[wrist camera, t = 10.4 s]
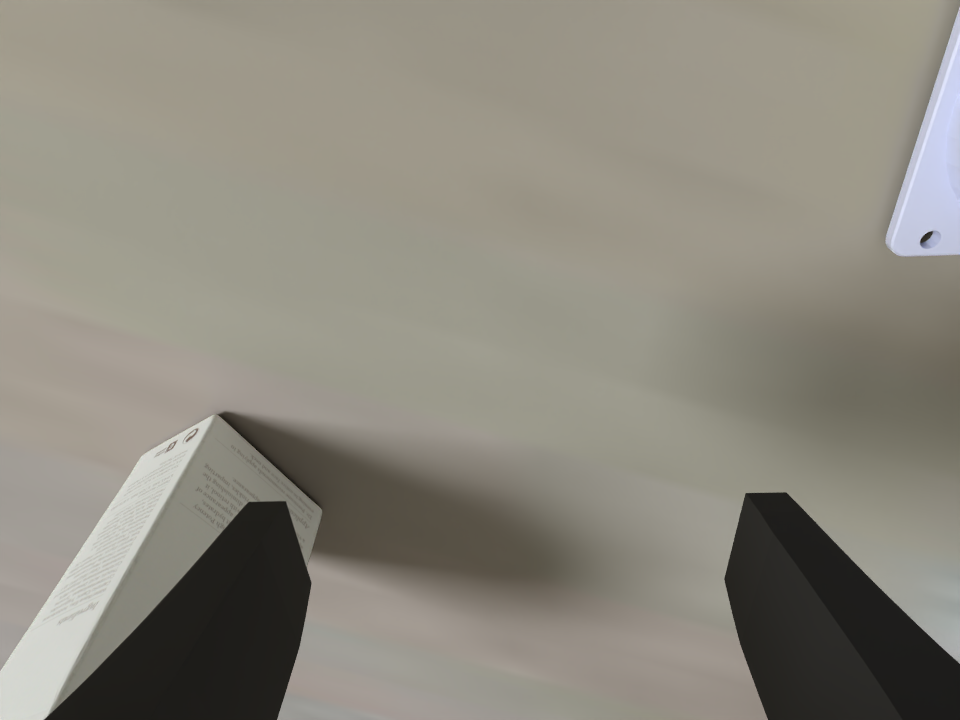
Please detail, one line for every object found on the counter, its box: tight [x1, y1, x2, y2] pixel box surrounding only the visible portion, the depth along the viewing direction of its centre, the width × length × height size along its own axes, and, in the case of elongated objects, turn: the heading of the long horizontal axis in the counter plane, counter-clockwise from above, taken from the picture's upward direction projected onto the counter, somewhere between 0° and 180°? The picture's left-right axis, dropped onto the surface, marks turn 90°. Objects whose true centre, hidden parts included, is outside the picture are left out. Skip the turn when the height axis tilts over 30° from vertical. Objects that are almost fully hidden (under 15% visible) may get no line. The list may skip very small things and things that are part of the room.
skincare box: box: [0, 414, 322, 720], centre depth 20 cm, size 6×4×12 cm
